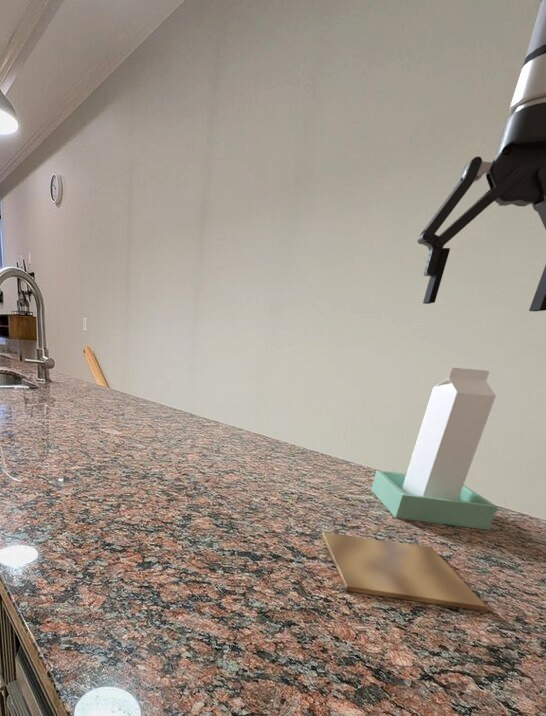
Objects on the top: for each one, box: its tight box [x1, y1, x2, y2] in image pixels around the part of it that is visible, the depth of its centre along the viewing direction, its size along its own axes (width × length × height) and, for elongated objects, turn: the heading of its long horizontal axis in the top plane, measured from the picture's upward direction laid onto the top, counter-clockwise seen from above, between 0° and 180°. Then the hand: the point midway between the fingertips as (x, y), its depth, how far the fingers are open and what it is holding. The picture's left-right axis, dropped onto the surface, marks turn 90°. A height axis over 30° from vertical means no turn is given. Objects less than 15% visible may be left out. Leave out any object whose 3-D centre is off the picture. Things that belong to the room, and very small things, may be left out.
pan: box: [370, 469, 498, 531], centre depth 74 cm, size 14×14×4 cm
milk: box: [402, 367, 497, 500], centre depth 70 cm, size 6×6×22 cm
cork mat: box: [321, 532, 488, 612], centre depth 53 cm, size 14×14×1 cm
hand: (481, 307), depth 61 cm, fingers open, 13 cm apart
